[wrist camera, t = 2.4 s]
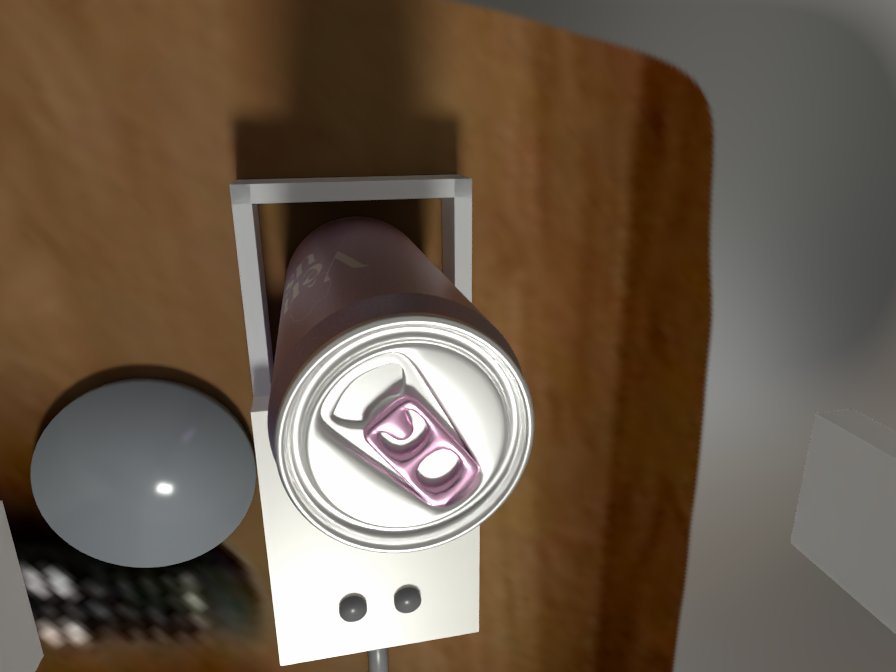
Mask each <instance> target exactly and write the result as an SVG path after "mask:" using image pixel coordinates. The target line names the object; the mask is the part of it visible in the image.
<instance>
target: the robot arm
mask: <svg viewBox="0 0 896 672" xmlns="http://www.w3.org/2000/svg"><path fill="white" fill-rule="evenodd" d="M790 543H791V544H792V545H794V546H795V547H796V548H797V549H798V550H799V551H800V552H802V553H803V554H804V555H805V556H806V557H807V558H808V559H810V560H811V561H812V562H813V563H814V564H815V565H817V566H818V567H819V568H820V569H821V570H822V571H824V572H825V573H826V574H827V575H828V576H829V577H830V578H831V579H833V580H834V581H835V582H836V583H837V584H839V585H840V586H841V587H842V588H843V589H844V590H845V591H847V592H848V593H849V594H850V595H851V596H852V597H853V598H855V599H856V600H857V601H858V602H859V603H860V604H861V605H863V606H864V607H865V608H866V609H867V610H869V611H870V612H871V613H872V614H873V615H874V616H875V617H876V618H878V619H879V620H880V621H881V622H882V623H883V624H885V625H886V626H887V627H888V628H889V629H890V630H891V631H893V632H894V633H895V634H896V432H895V431H893V430H891V429H889V428H888V427H886V426H884V425H882V424H880V423H878V422H876V421H874V420H872V419H870V418H868V417H866V416H865V415H863V414H861V413H859V412H857V411H855V410H853V409H848V410H839V411H829V412H819V413H815V418H814V423H813V428H812V433H811V438H810V443H809V449H808V454H807V459H806V464H805V469H804V474H803V479H802V485H801V490H800V495H799V501H798V505H797V510H796V516H795V521H794V526H793V532H792V536H791V541H790ZM43 656H44V655H43V652H42V648H41V644H40V641H39V637H38V633H37V629H36V626H35V622H34V618H33V614H32V611H31V607H30V603H29V599H28V596H27V592H26V588H25V585H24V581H23V577H22V573H21V570H20V566H19V562H18V558H17V555H16V551H15V547H14V544H13V540H12V536H11V532H10V529H9V525H8V521H7V517H6V514H5V510H4V506H3V503H2V501H0V672H35V671H36V669H37V667H38V665H39V663H40V661H41V659H42V658H43Z"/></svg>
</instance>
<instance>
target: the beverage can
mask: <svg viewBox="0 0 896 672" xmlns="http://www.w3.org/2000/svg"><path fill="white" fill-rule="evenodd" d="M267 426H268V437H269V442H270V447H271V451H272V454H273V457H274V460H275V462H276V465H277V470H278V473H279V476H280V479H281V482H282V484H283V487H284V489H285V491H286V493H287V495H288V497H289V498H290V500H291V501H292V503H293V504H294V506H295V507H296V508H297V510H298V511H299V512H300V513H301V514H302V515H303V517H304V518H305V519H306V520H308V521H309V522H310V523H311V524H312V525H313V526H314V527H316V528H317V529H318V530H320V531H321V532H323V533H324V534H326V535H327V536H329V537H331V538H333V539H335V540H337V541H339V542H341V543H343V544H346V545H349V546H351V547H355V548H358V549H362V550H367V551H372V552H380V553H407V552H415V551H421V550H426V549H430V548H433V547H437V546H440V545H443V544H445V543H448V542H450V541H453V540H455V539H457V538H459V537H461V536H463V535H465V534H466V533H468V532H470V531H471V530H473V529H474V528H476V527H477V526H479V525H480V524H481V523H483V522H484V521H485V520H487V519H488V518H489V517H490V516H491V515H492V514H493V513H494V512H495V511H496V510H497V509H498V508H499V507H500V506H501V505H502V504H503V503H504V502H505V501H506V499H507V498H508V497H509V495H510V494H511V493H512V491H513V490H514V488H515V487H516V485H517V483H518V482H519V480H520V478H521V476H522V474H523V472H524V469H525V467H526V464H527V462H528V459H529V456H530V452H531V448H532V443H533V436H534V412H533V405H532V400H531V396H530V393H529V389H528V386H527V384H526V381H525V379H524V377H523V373H522V370H521V367H520V364H519V362H518V360H517V357H516V355H515V354H514V352H513V350H512V348H511V347H510V345H509V343H508V342H507V341H506V339H505V338H504V337H503V335H502V334H501V333H500V332H499V331H498V330H497V329H496V328H495V327H494V326H493V325H492V324H491V323H490V321H489V320H488V319H487V318H486V317H485V316H484V315H483V314H482V313H481V312H480V311H479V310H478V309H477V308H476V307H475V306H474V305H473V304H472V303H471V302H470V301H469V300H468V299H467V298H466V297H465V296H464V295H463V294H462V293H461V292H460V291H459V290H458V289H457V288H456V287H455V285H454V284H453V283H452V282H451V281H450V280H449V279H448V278H447V277H446V276H445V275H444V274H443V273H442V272H441V271H440V270H439V269H438V268H437V267H436V266H435V265H434V264H433V263H432V262H431V261H430V260H429V259H428V258H427V257H426V256H425V255H424V254H423V253H422V252H421V250H420V249H419V248H418V247H417V246H416V245H415V244H414V243H413V242H412V241H411V240H410V239H409V238H408V237H407V236H406V235H405V234H404V233H402V232H401V231H400V230H398V229H397V228H395V227H394V226H392V225H390V224H388V223H386V222H383V221H381V220H378V219H374V218H369V217H359V216H354V217H344V218H339V219H336V220H333V221H330V222H328V223H325V224H323V225H322V226H320V227H318V228H317V229H315V230H314V231H312V232H311V233H310V234H309V235H308V236H307V237H305V238H304V240H303V241H302V242H301V243H300V244H299V246H298V247H297V249H296V250H295V252H294V254H293V255H292V257H291V260H290V262H289V265H288V269H287V273H286V279H285V286H284V294H283V301H282V309H281V316H280V324H279V331H278V338H277V346H276V353H275V361H274V368H273V376H272V383H271V390H270V398H269V405H268V416H267Z"/></svg>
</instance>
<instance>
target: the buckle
mask: <svg viewBox="0 0 896 672" xmlns="http://www.w3.org/2000/svg"><path fill="white" fill-rule="evenodd" d="M230 194H231V202H232V211H233V220H234V229H235V237H236V246H237V255H238V264H239V272H240V281H241V290H242V299H243V307H244V316H245V325H246V334H247V342H248V351H249V360H250V369H251V377H252V386H253V395H254V398H253V403H252V408H251V419H252V427H253V436H254V445H255V453H256V462H257V470H258V479H259V487H260V496H261V504H262V513H263V521H264V530H265V539H266V547H267V556H268V564H269V573H270V581H271V590H272V598H273V607H274V615H275V624H276V633H277V641H278V650H279V658H280V666H283V665H289V664H295V663H301V662H307V661H312V660H318V659H324V658H330V657H336V656H341V655H347V654H353V653H359V652H364V651H368V657H369V672H389V671H388V651H387V648H388V647H393V646H399V645H405V644H411V643H417V642H422V641H428V640H434V639H440V638H445V637H451V636H457V635H463V634H469V633H474V632H479V534H480V525H479V526H477V527H476V528H474V529H473V530H471V531H470V532H468V533H466V534H465V535H463V536H461V537H459V538H457V539H455V540H453V541H450V542H448V543H445V544H443V545H440V546H437V547H433V548H430V549H426V550H421V551H415V552H407V553H380V552H372V551H367V550H362V549H358V548H355V547H351V546H349V545H346V544H343V543H341V542H339V541H337V540H335V539H333V538H331V537H329V536H327V535H326V534H324V533H323V532H321V531H320V530H318V529H317V528H316V527H314V526H313V525H312V524H311V523H310V522H309V521H308V520H306V519H305V518H304V517H303V515H302V514H301V513H300V512H299V511H298V510H297V508H296V507H295V506H294V504H293V503H292V501H291V500H290V498H289V497H288V495H287V493H286V491H285V489H284V487H283V484H282V482H281V479H280V476H279V473H278V470H277V465H276V462H275V460H274V457H273V454H272V451H271V447H270V442H269V437H268V426H267V416H268V405H269V398H270V390H271V383H272V376H273V368H274V363H273V353H272V343H271V333H270V323H269V313H268V304H267V294H266V284H265V274H264V264H263V255H262V245H261V235H260V225H259V215H258V206H257V204H260V203H292V202H323V201H355V200H387V199H419V198H442V270H443V274H444V275H445V276H446V277H447V278H448V279H449V280H450V281H451V282H452V283H453V284H454V285H455V287H456V288H457V289H458V290H459V291H460V292H461V293H462V294H463V295H464V296H465V297H466V298H467V299H468V300H469V301H470V302H471V303H472V178H469V177H465V176H461V175H458V174H453V175H412V176H371V177H329V178H288V179H246V180H235V181H234V182H233V183H231V184H230Z"/></svg>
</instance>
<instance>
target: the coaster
mask: <svg viewBox="0 0 896 672" xmlns="http://www.w3.org/2000/svg"><path fill="white" fill-rule="evenodd" d="M256 474H257V468H256V457H255V452H254V448H253V445H252V443H251V440H250V438H249V436H248V434H247V432H246V430H245V428H244V427H243V425H242V424H241V423H240V421H239V420H238V418H237V417H236V416H235V415H234V414H233V413H232V412H231V411H230V410H229V409H228V408H227V407H226V406H224V405H223V404H222V403H221V402H220V401H218V400H217V399H215V398H214V397H212V396H210V395H209V394H207V393H205V392H203V391H201V390H199V389H197V388H195V387H192V386H189V385H186V384H183V383H180V382H176V381H171V380H166V379H158V378H131V379H124V380H118V381H114V382H110V383H107V384H103V385H101V386H98V387H96V388H93V389H91V390H89V391H87V392H85V393H83V394H82V395H80V396H78V397H77V398H75V399H74V400H73V401H71V402H70V403H69V404H67V405H66V406H65V407H64V408H63V409H62V410H61V411H60V412H59V413H58V414H57V415H56V416H55V417H54V418H53V420H52V421H51V422H50V423H49V425H48V426H47V427H46V429H45V430H44V431H43V433H42V435H41V437H40V439H39V440H38V442H37V445H36V448H35V451H34V454H33V458H32V464H31V484H32V491H33V495H34V498H35V501H36V504H37V506H38V508H39V510H40V512H41V514H42V516H43V517H44V518H45V520H46V521H47V523H48V524H49V525H50V527H51V528H52V529H53V530H54V531H55V532H56V533H57V534H58V535H59V536H60V537H61V538H62V539H64V540H65V541H66V542H67V543H69V544H70V545H71V546H73V547H75V548H76V549H78V550H79V551H81V552H83V553H85V554H87V555H89V556H91V557H93V558H96V559H99V560H102V561H105V562H108V563H112V564H117V565H121V566H129V567H161V566H167V565H173V564H177V563H181V562H184V561H187V560H190V559H193V558H195V557H197V556H200V555H202V554H204V553H206V552H207V551H209V550H211V549H213V548H214V547H216V546H217V545H218V544H220V543H221V542H223V541H224V540H225V539H226V538H227V537H228V536H229V535H230V534H231V533H232V532H233V531H234V530H235V529H236V528H237V526H238V525H239V524H240V523H241V521H242V519H243V518H244V516H245V515H246V513H247V511H248V509H249V506H250V504H251V502H252V498H253V494H254V490H255V483H256Z"/></svg>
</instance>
